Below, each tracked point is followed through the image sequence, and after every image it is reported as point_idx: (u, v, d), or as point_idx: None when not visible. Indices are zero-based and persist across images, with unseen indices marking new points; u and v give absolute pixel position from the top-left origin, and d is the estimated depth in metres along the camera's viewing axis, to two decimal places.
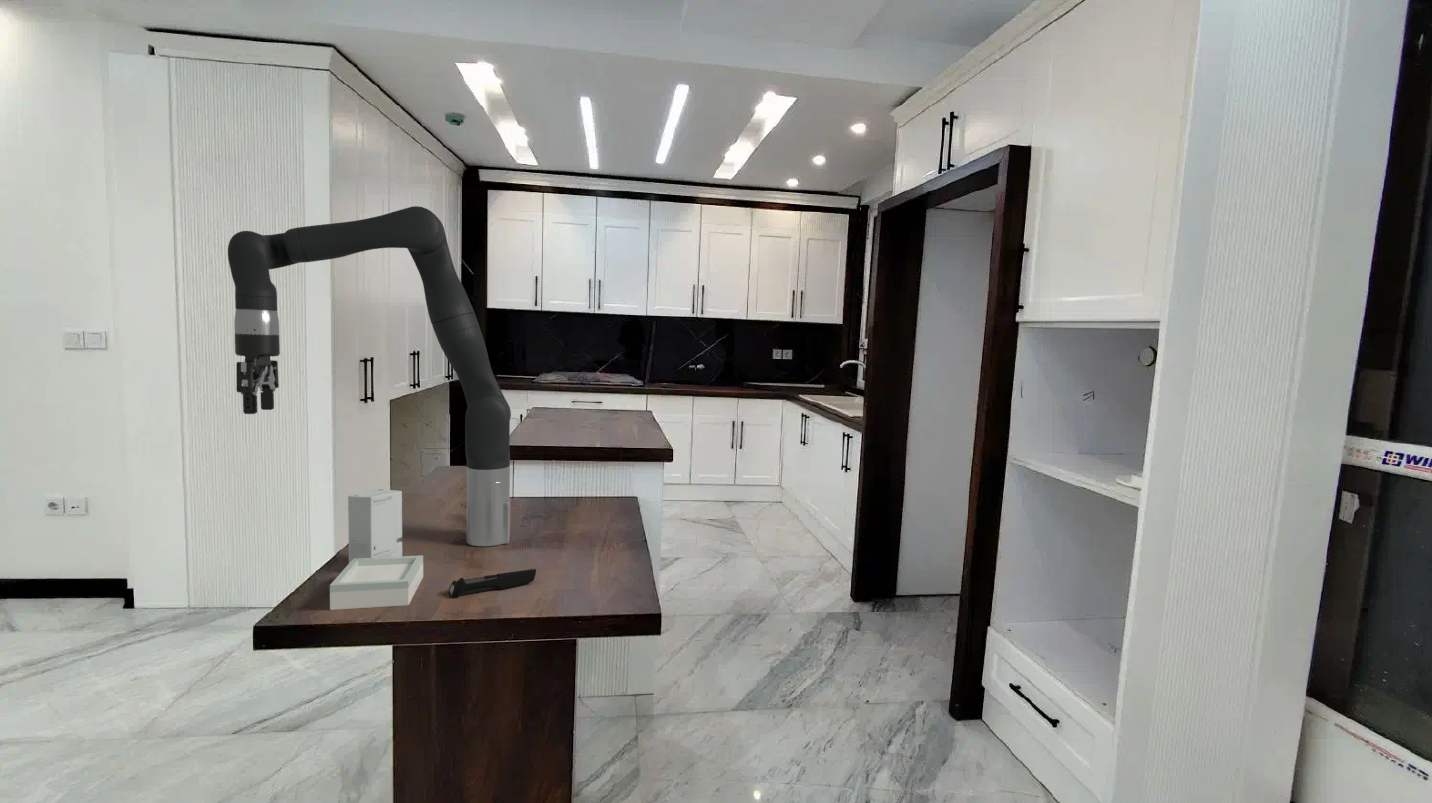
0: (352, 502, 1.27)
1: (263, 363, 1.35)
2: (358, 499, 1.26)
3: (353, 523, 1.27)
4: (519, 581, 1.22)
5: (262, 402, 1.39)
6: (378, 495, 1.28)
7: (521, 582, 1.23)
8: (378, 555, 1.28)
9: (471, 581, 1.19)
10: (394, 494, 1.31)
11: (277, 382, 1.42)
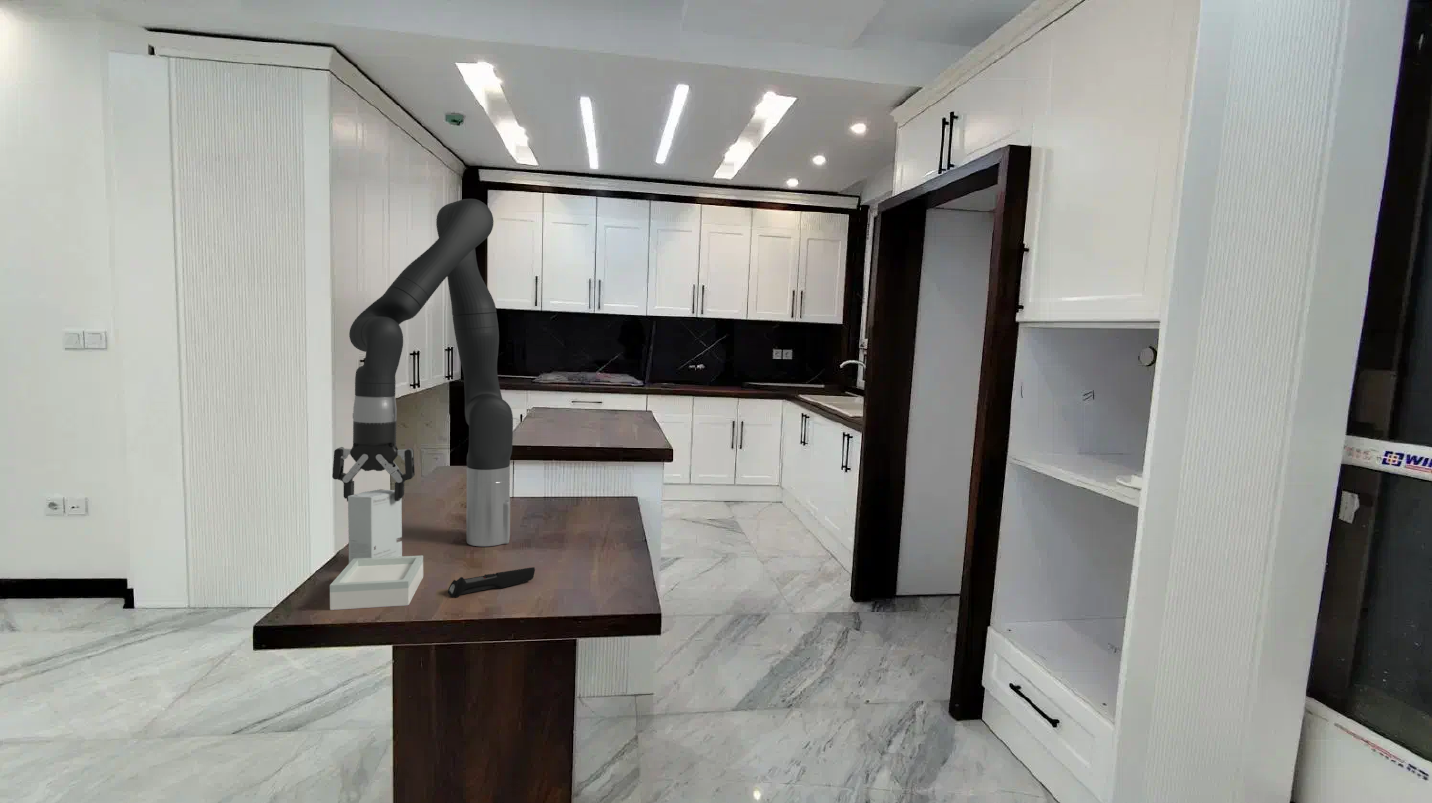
0: (352, 502, 1.27)
1: None
2: (358, 499, 1.26)
3: (353, 523, 1.27)
4: (519, 579, 1.23)
5: (351, 493, 1.28)
6: (378, 495, 1.28)
7: (520, 580, 1.23)
8: (378, 555, 1.28)
9: (471, 580, 1.19)
10: (394, 494, 1.31)
11: None
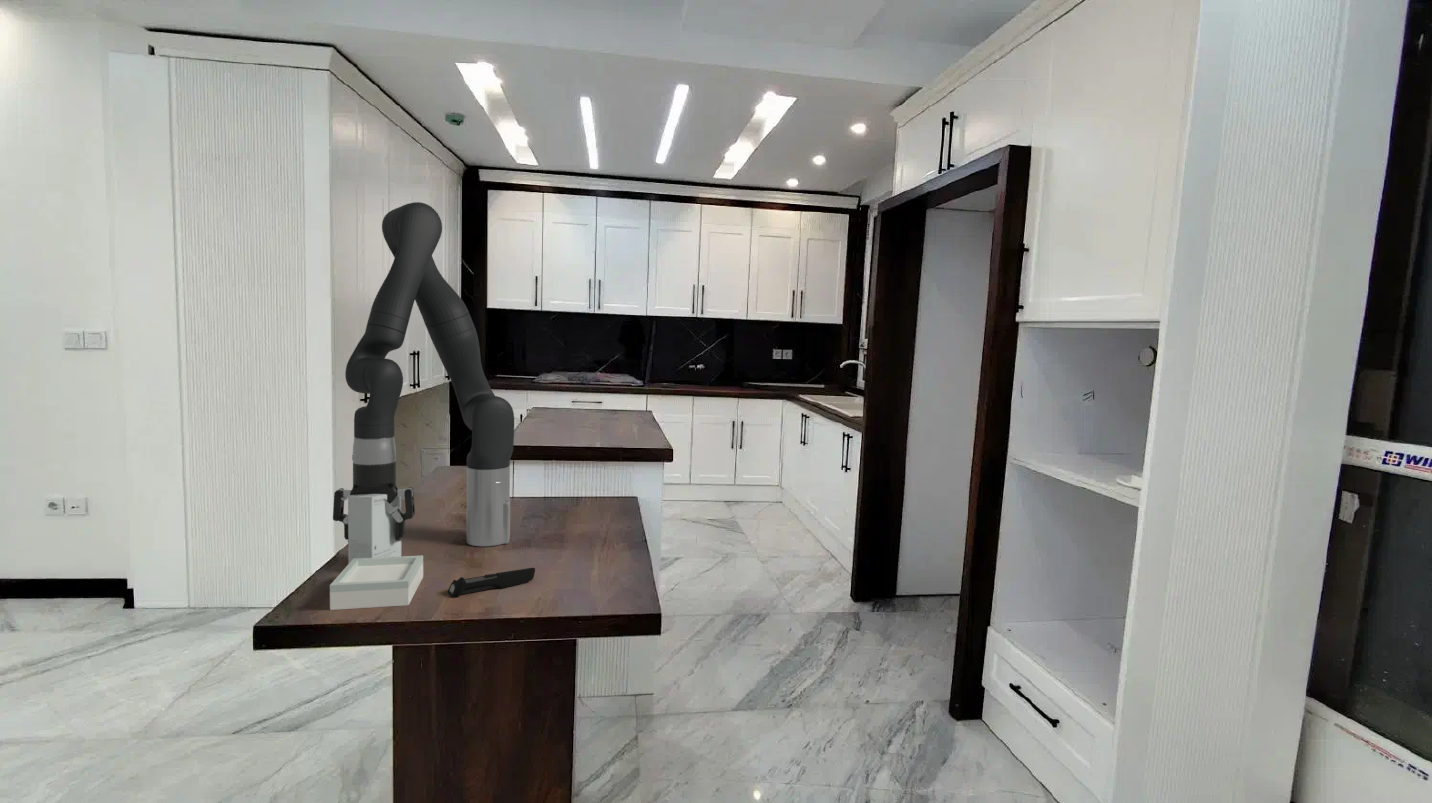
0: (352, 502, 1.27)
1: None
2: (358, 499, 1.26)
3: (353, 523, 1.27)
4: (519, 580, 1.23)
5: None
6: (378, 495, 1.28)
7: (521, 581, 1.23)
8: (378, 555, 1.28)
9: (471, 580, 1.19)
10: None
11: None
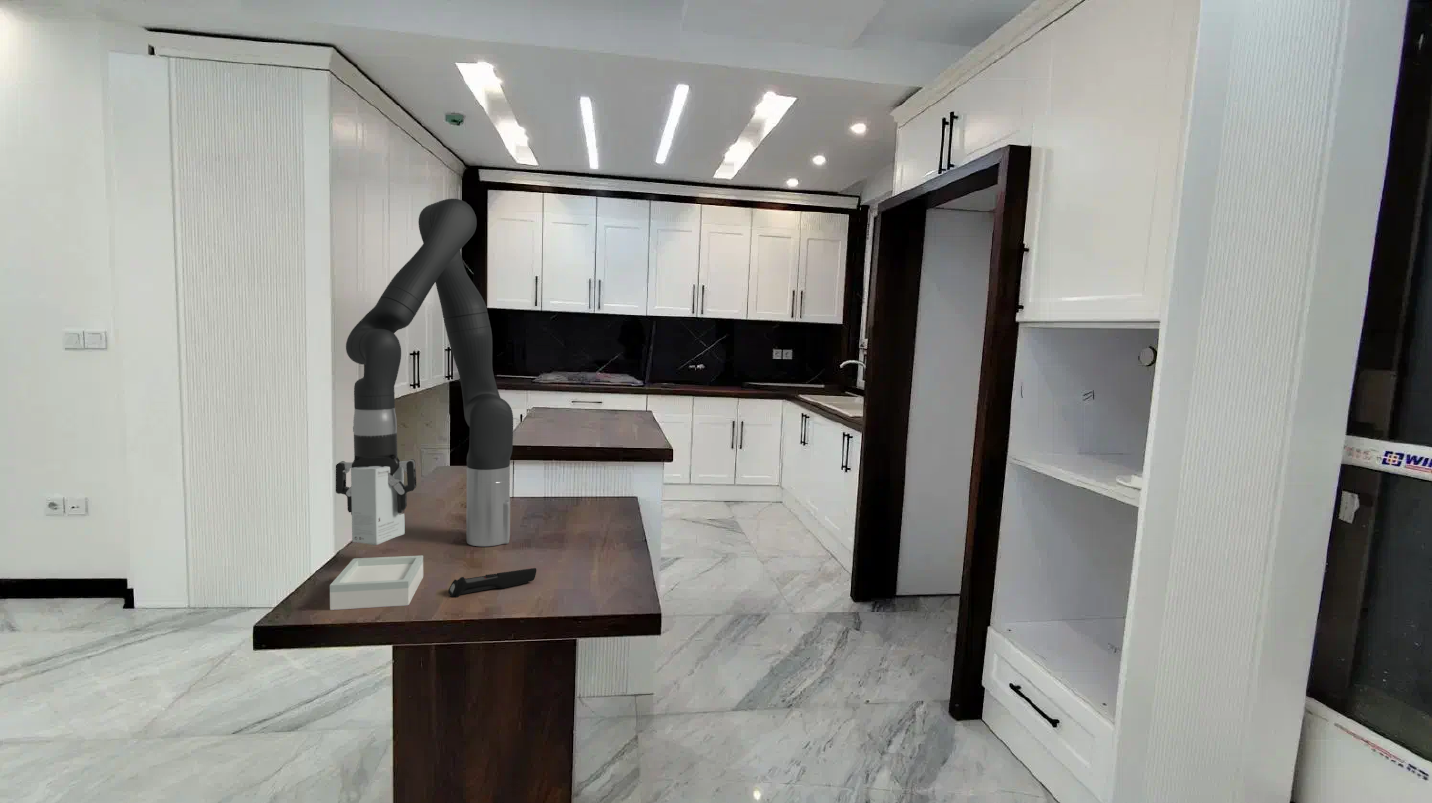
0: (355, 474, 1.26)
1: None
2: (361, 471, 1.26)
3: (356, 495, 1.27)
4: (520, 580, 1.23)
5: None
6: (382, 467, 1.28)
7: (521, 581, 1.23)
8: (382, 527, 1.28)
9: (472, 580, 1.19)
10: None
11: None
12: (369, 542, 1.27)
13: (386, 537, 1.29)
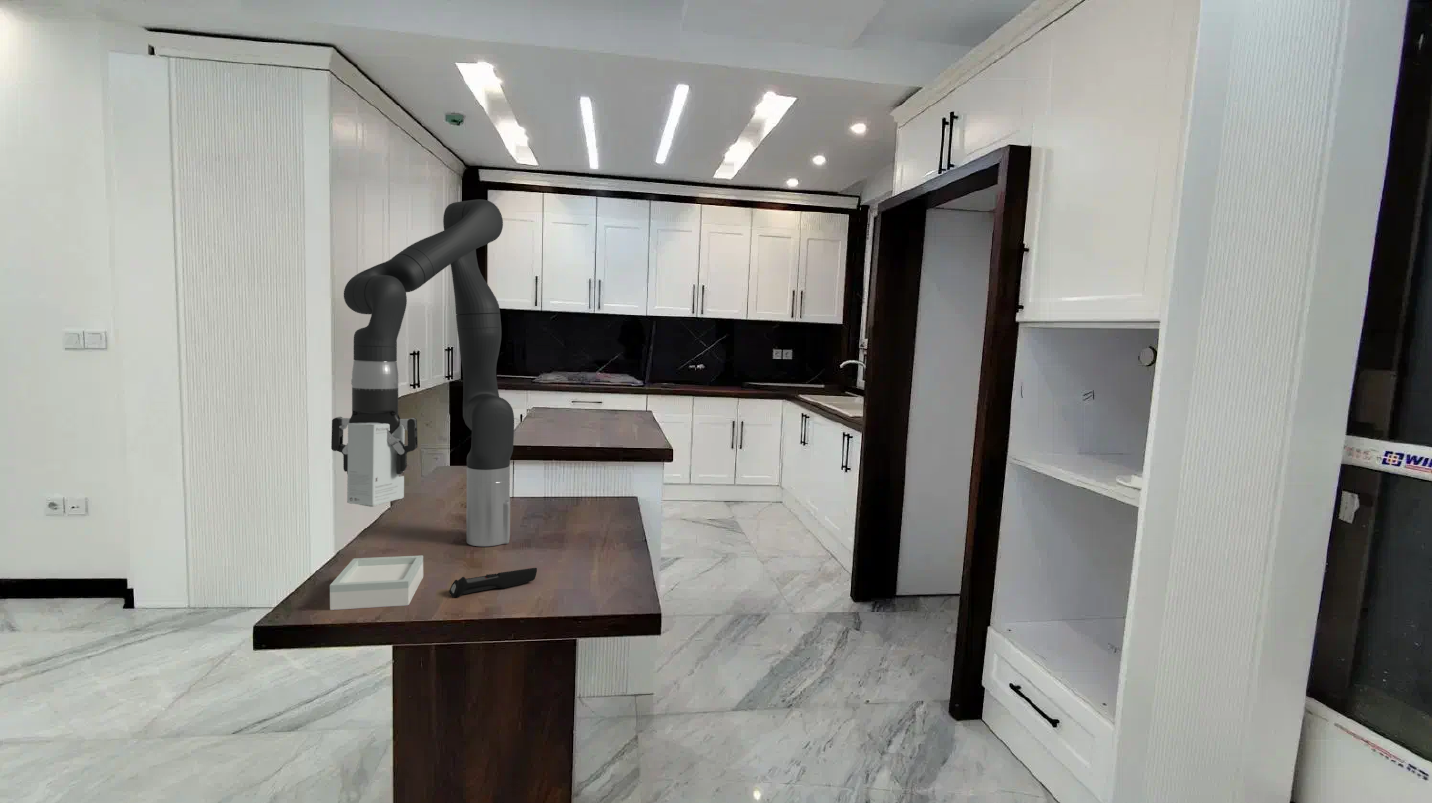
0: (352, 429, 1.18)
1: None
2: (359, 427, 1.18)
3: (353, 453, 1.18)
4: (520, 580, 1.23)
5: None
6: None
7: (522, 581, 1.23)
8: (380, 488, 1.19)
9: (473, 580, 1.19)
10: None
11: None
12: (365, 503, 1.18)
13: (383, 499, 1.20)
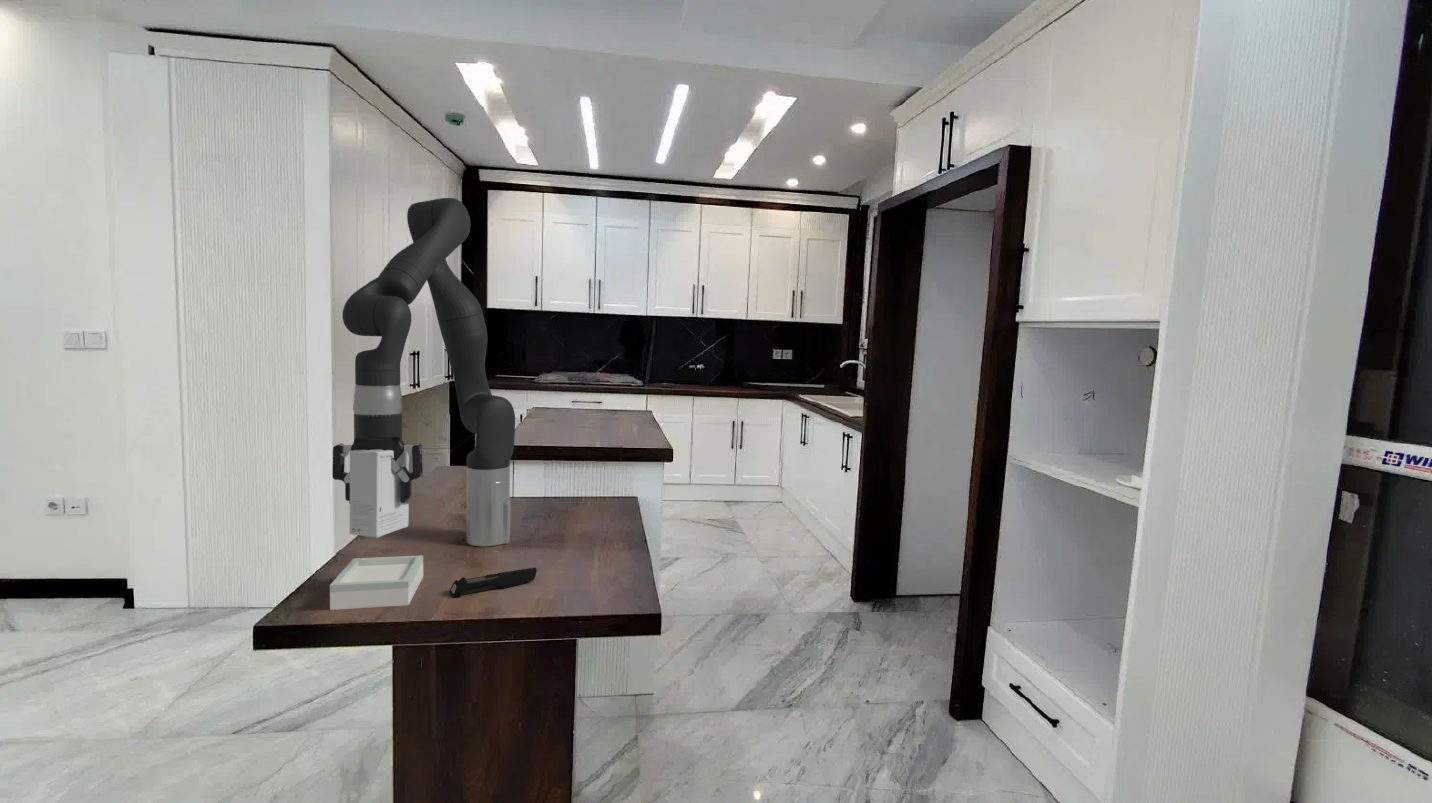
0: (354, 457, 1.13)
1: None
2: (361, 454, 1.12)
3: (355, 482, 1.13)
4: (520, 580, 1.23)
5: None
6: None
7: (522, 581, 1.23)
8: (384, 518, 1.14)
9: (473, 580, 1.19)
10: None
11: None
12: (368, 534, 1.13)
13: (387, 529, 1.15)
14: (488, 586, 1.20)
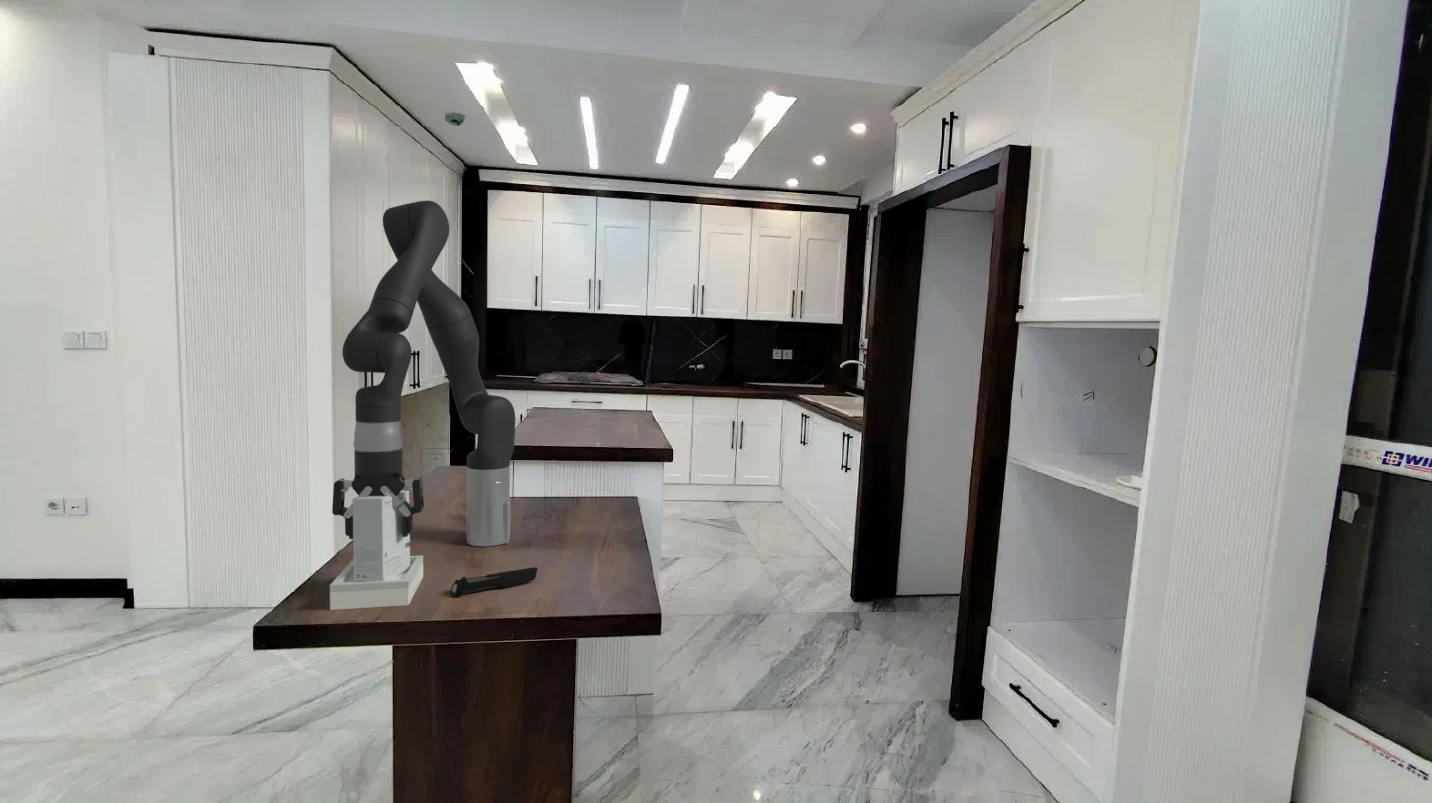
0: (358, 504, 1.13)
1: None
2: (365, 501, 1.13)
3: (359, 529, 1.13)
4: (521, 579, 1.23)
5: None
6: (388, 496, 1.15)
7: (523, 580, 1.23)
8: (389, 562, 1.15)
9: (473, 580, 1.19)
10: (402, 494, 1.18)
11: None
12: (374, 580, 1.14)
13: (392, 574, 1.16)
14: (489, 586, 1.20)
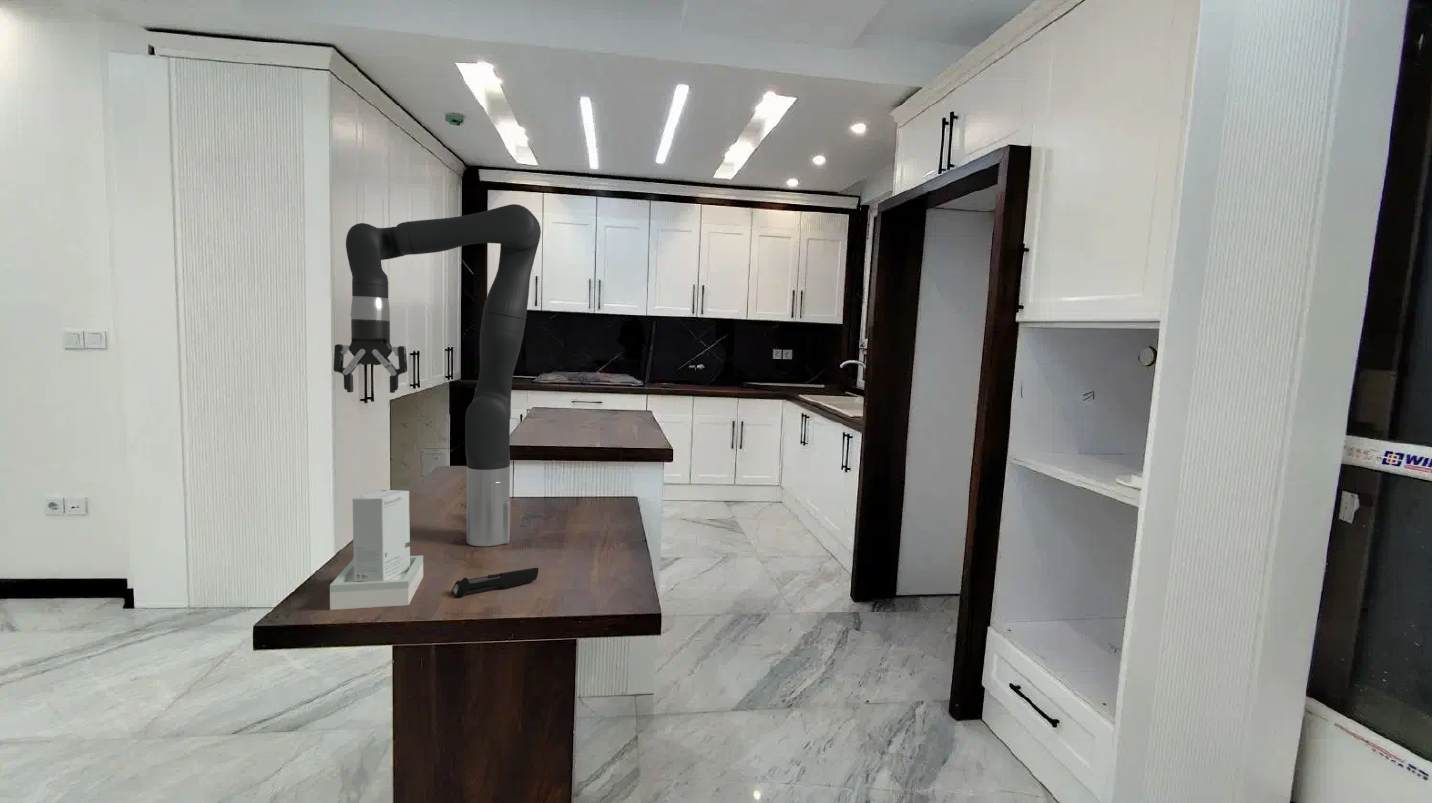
0: (358, 504, 1.13)
1: None
2: (365, 501, 1.13)
3: (359, 529, 1.13)
4: (522, 580, 1.23)
5: (350, 385, 1.44)
6: (388, 496, 1.15)
7: (524, 581, 1.23)
8: (389, 562, 1.15)
9: (475, 581, 1.19)
10: (402, 494, 1.18)
11: None
12: (374, 580, 1.14)
13: (392, 574, 1.16)
14: (490, 586, 1.20)
